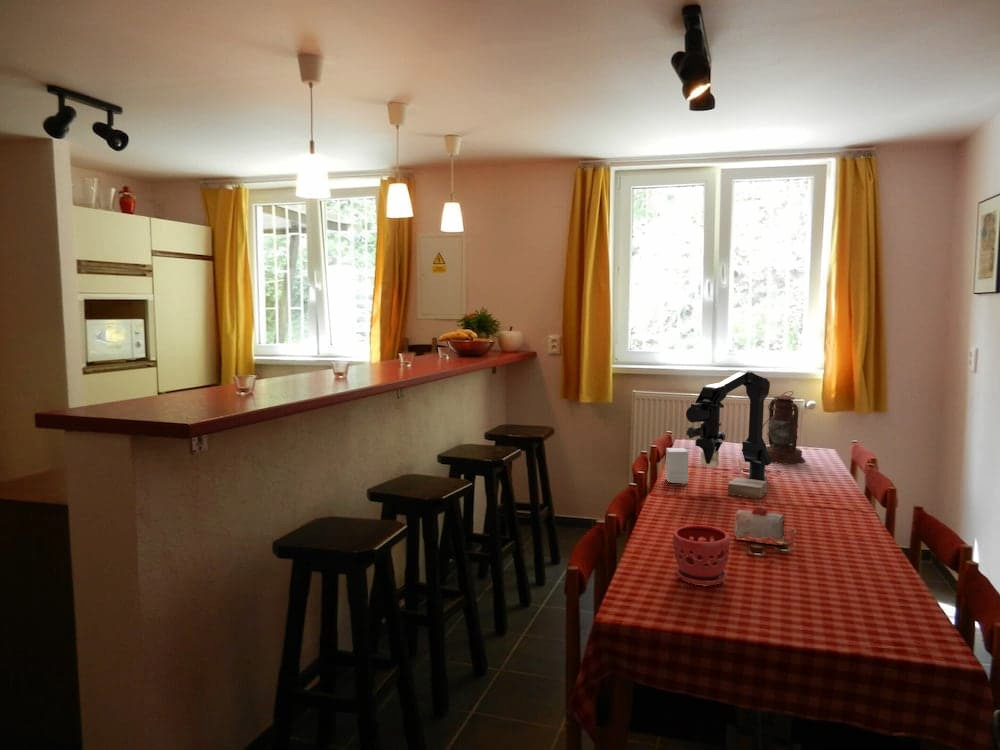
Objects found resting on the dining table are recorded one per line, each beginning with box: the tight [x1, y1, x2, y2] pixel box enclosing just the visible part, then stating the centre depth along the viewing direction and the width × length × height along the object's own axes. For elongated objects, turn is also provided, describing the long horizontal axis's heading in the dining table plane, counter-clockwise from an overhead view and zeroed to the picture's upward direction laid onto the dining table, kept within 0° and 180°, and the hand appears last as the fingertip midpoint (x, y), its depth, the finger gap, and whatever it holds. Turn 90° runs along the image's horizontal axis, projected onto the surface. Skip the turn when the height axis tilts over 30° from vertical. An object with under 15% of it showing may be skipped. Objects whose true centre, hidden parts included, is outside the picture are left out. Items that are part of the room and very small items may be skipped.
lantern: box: [763, 390, 806, 465], centre depth 301 cm, size 19×19×30 cm
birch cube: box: [700, 450, 720, 468], centre depth 253 cm, size 5×5×5 cm
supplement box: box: [665, 447, 689, 483], centre depth 262 cm, size 7×7×13 cm
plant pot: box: [672, 524, 730, 585], centre depth 168 cm, size 13×13×12 cm
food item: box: [734, 505, 786, 539], centre depth 196 cm, size 14×8×10 cm, turn 64°
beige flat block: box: [727, 477, 768, 500], centre depth 246 cm, size 11×11×4 cm
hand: (709, 462), depth 253 cm, fingers closed on birch cube, 5 cm apart
